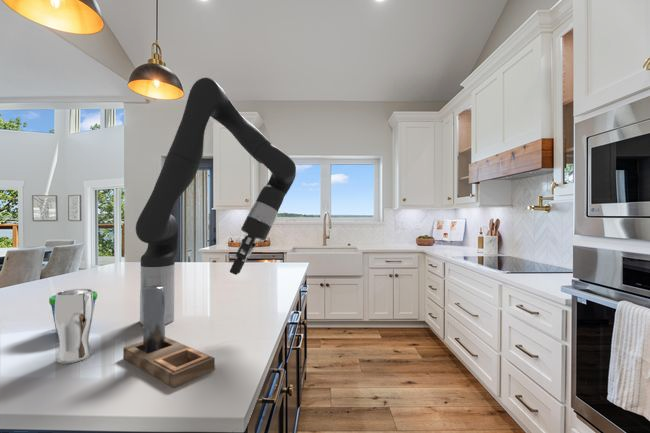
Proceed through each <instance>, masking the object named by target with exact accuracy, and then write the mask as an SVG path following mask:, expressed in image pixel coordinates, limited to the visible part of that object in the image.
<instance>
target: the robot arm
mask: <svg viewBox="0 0 650 433" xmlns="http://www.w3.org/2000/svg"><path fill="white" fill-rule="evenodd" d="M187 96H188V97H187V101H186V103H185V104H186V105H185V107H184V110H183V114H182V117H181V120H180V123H179V126H178V127H177V131H176V133H175V135H174V139H173V141H172V143H171V146H170V148H169V150H168V153H167V154H166V156H165V160H164V162H163V165H162V167H161V170H160V173H159V174H158V178H157V179H156V182H155V184H154V188H153V190H152V192H151V194H150V196H149V198H148V200H147V201H146V204H145V206H144V207H143V208H142V211H141V213H140V214H139V217H138V218H137V221H136V224H135V233H136V237H137V238H138V240H140V242H143V243H146V244H147V248H146V250H145V252H144V253H143V254H142V255H141V258H140V287H139V288H140V290H139V292H140V293H139V323H140V325H141V326H143V314H144V288H145V287H148V286H154V285H163V286H165V325H167V324H170V323H172V322H174V320H175V277H176V275H175V268H176V267H175V262H176V261H175V259H176V257H177V254H178V245H179V224H178V222H177V221H178V220H177V219H176V218H175V216H174V215H172V212H173V210H174V207H175V205H176V203H177V201H178V200H179V199H180V197H181V196H182V194H183V193H184V192H185V191H186V190H187V188H188V187H189V186H190V185H191V183H193V180H194V179H195V177H196V175H197V173H198V171H199V167H200V166H201V162H202V159H203V156H204V155H203V154H204V143H205V142H204V141H205V140H204V139H205V133H206V132H205V131H206V129H207V125H208V122H209V120H210V118H212V119H213V120H215V121H217V123H219V124H221V125H222V126H223V127H224V128H225V129H226V130H228V131H229V132H230V134H232V136H233V137H234V138H235V139H236V141H237V142H238V143H239V145H241V147H242V148H243V149H245V151H246V152H247V153H248V154H249V155H250V156H251V157H252V158H253V159H254V160H255V161H256V162H258V163H260V164H262V165H264V166H265V167H266V168H267V170H269V172H271V176H270V177H269V180H268V182H267V183H266V185H265V186H263V187H262V189H261V190H260V193H259V194H258V196H257V198H256V200H255V202H254V204H253V205H252V207H251V208H250V210H249V213H248V214H247V216H246V218H245V220H244V222H243V224H242V226H241V228H240V230H241V231H242V232H243V233H245V234H247V235H246V236H244V237H243V239H242V240H241V241H240V245H239V247H238V249H237V252H236V254H235V257H234V258H235V259H234V261H233V263H232V265H231V267H230V269H229V273H231V274H233V275H235V276H236V275H238V274H240V273H241V271H242V269H243V266H244V265H245V263H246V262H247V260H248V259H249V258H250V257H251V255H252V253H253V251H254V250H255V248H256V246H257V244H256V240H260V241H265V240H266V239H267V237H268V235H269V233H270V231H271V229H272V226H273V224H274V223H275V220H276V218H277V214H278V212H279V210H280V208H281V205H282V204H283V201H284V200H285V199H284V198H285V197H286V195H288V194H287V193H288V192H289V190H290V189H291V187H292V185H293V184H294V182H295V179H296V177H297V176H296V175H297V174H296V173H297V167H296V164H295V162H294V161H293V159H292V158H291V157H290V156H289V155H288V154H286V153H285V152H284V151H282V150H281V149H280V148H278V147H277V146H275V145H274V144H273V142H271V141H270V140H269V139H268V137H267V136H265V135H264V133H262V132H261V130H259V129H258V128H257V127H255V125H253V124H252V123H251V122H250V121H248V120H247V119H246V118H245V117H244V116H243V115H242V114H241V113H240V111H239V110H238V109H237V108H236V107H235V105H234V104H233V103H232V101H231V100H230V97H228V95H227V93H226V92H225V90H224V89H223V88H222V87H221V86H220V85H219V84H218V82H216V80H214V79H212V78H210V77H202V78H199V79H197V80H196V81H195V82H194V83H193V85H192V86H191V89H190V90H189V94H188V95H187Z"/></svg>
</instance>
